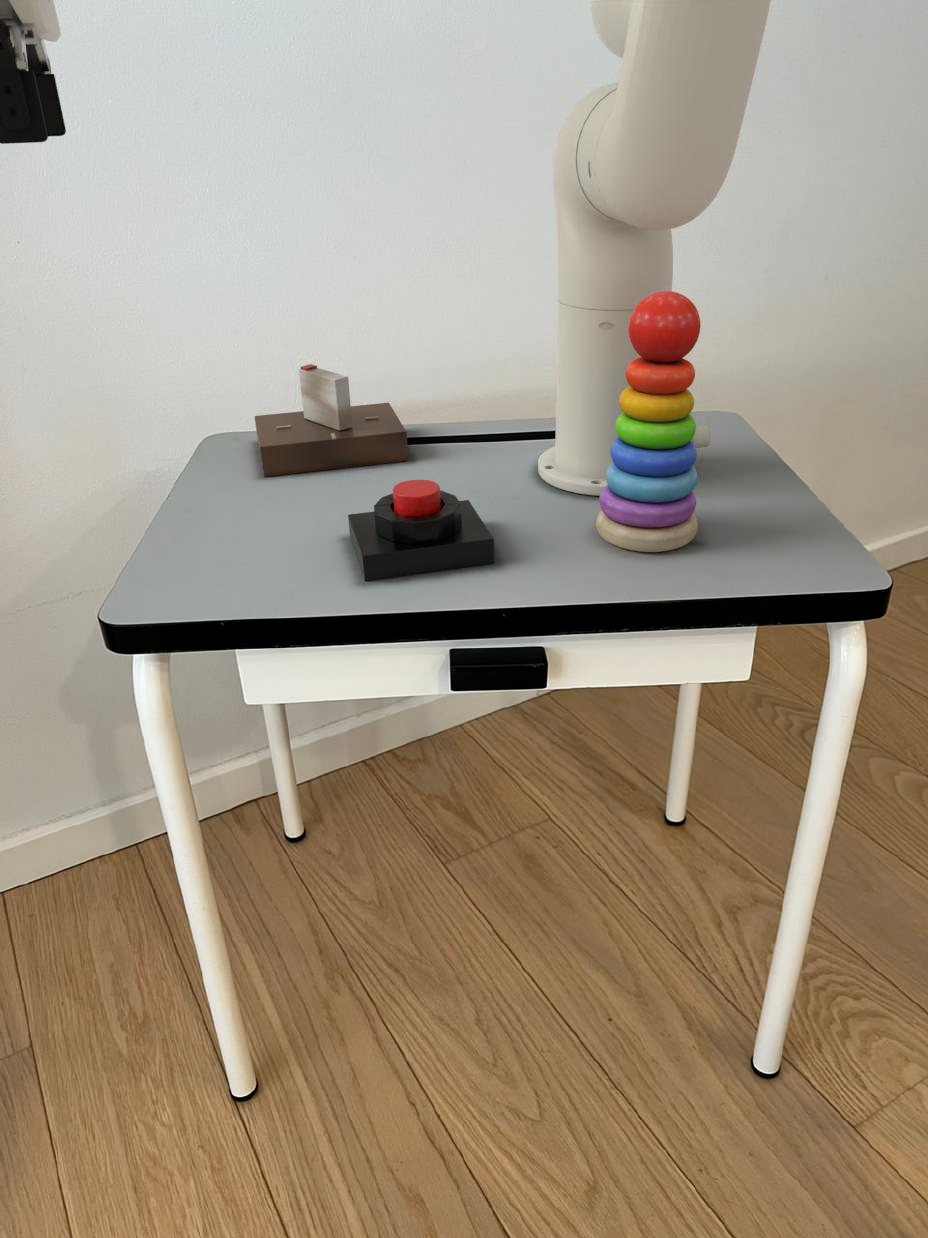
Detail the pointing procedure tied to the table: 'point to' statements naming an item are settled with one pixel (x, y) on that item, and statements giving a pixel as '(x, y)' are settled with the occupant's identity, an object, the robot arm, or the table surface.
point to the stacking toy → (654, 433)
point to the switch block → (419, 539)
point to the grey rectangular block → (325, 397)
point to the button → (416, 497)
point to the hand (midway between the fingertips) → (34, 138)
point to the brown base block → (330, 441)
